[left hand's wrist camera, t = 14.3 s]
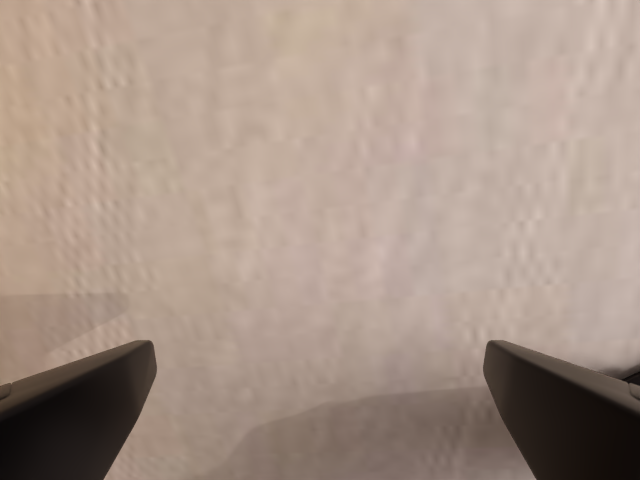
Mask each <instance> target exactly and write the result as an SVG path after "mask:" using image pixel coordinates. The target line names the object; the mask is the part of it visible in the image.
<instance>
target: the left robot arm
mask: <svg viewBox="0 0 640 480" xmlns="http://www.w3.org/2000/svg"><path fill="white" fill-rule="evenodd" d="M156 372H157V365H156V358H155V352H154V346H153V343H152V342H151V341H149V340H137V341H133V342H130V343H127V344H124V345H122V346H119V347H116V348H113V349H110V350H107V351H104V352H101V353H98V354H95V355H92V356H89V357H86V358H83V359H80V360H77V361H74V362H71V363H68V364H66V365H63V366H60V367H57V368H54V369H51V370H48V371H45V372H42V373H39V374H36V375H33V376H30V377H27V378H24V379H21V380H18V381H15V382H13V383H12V385H11V383H8V384H5V385H2V386H0V480H104V478H105V476H106V474H107V472H108V471H109V469H110V467H111V465H112V464H113V462H114V460H115V458H116V457H117V455H118V453H119V451H120V450H121V448H122V446H123V444H124V443H125V441H126V439H127V437H128V436H129V434H130V432H131V430H132V429H133V427H134V425H135V423H136V421H137V419H138V417H139V415H140V413H141V411H142V408H143V406H144V403H145V401H146V399H147V396H148V394H149V391H150V389H151V386H152V384H153V382H154V379H155V377H156ZM483 372H484V377H485V379H486V382H487V384H488V386H489V389H490V391H491V394H492V396H493V399H494V401H495V403H496V406H497V408H498V411H499V413H500V415H501V417H502V419H503V421H504V423H505V425H506V427H507V429H508V430H509V432H510V434H511V436H512V437H513V439H514V441H515V443H516V444H517V446H518V448H519V450H520V451H521V453H522V455H523V457H524V458H525V460H526V462H527V464H528V465H529V467H530V469H531V471H532V472H533V474H534V476H535V478H536V480H640V372H638V373H636V374H634V375H631V376H629V377H627V378H625V379H623V380H619V379H616V378H613V377H610V376H607V375H604V374H601V373H598V372H595V371H592V370H589V369H586V368H583V367H580V366H577V365H574V364H572V363H569V362H566V361H563V360H560V359H557V358H554V357H551V356H548V355H545V354H542V353H539V352H536V351H533V350H530V349H527V348H524V347H521V346H518V345H516V344H513V343H510V342H507V341H503V340H491V341H489V342H488V343H487V346H486V352H485V358H484V365H483Z"/></svg>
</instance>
